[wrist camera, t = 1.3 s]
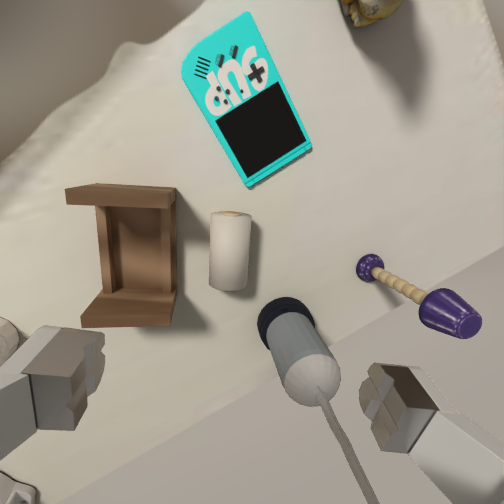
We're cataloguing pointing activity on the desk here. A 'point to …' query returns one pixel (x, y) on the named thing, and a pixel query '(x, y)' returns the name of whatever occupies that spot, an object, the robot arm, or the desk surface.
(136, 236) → the holder
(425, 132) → the desk surface
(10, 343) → the white cup
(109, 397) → the desk surface
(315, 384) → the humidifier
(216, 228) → the roll
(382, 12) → the decorative figurine
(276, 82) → the handheld game console
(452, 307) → the toy lamp
